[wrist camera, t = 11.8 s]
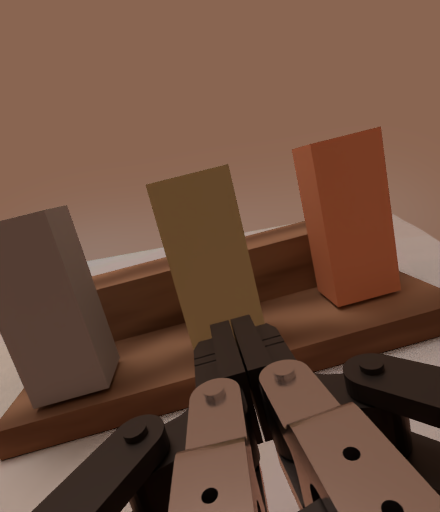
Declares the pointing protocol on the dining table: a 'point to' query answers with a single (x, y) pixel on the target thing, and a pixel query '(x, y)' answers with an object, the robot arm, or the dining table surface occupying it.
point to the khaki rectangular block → (206, 249)
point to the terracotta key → (348, 216)
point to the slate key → (52, 310)
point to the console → (180, 347)
